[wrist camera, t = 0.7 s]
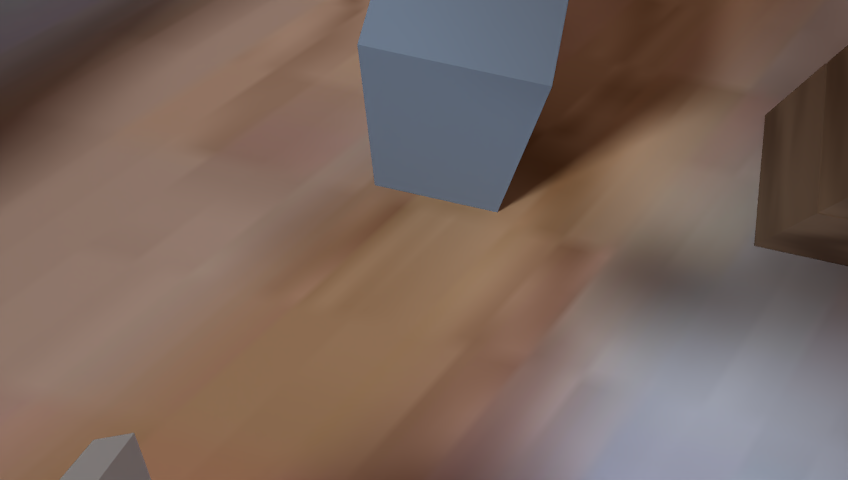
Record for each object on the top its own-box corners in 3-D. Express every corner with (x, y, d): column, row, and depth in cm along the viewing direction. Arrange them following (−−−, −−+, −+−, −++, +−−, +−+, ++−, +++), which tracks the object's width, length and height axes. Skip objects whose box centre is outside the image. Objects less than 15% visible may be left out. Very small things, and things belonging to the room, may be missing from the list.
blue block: (375, 185, 31) (357, 44, 20) (403, 76, 33) (402, -112, 21) (497, 212, 31) (552, 86, 20) (520, 101, 33) (582, -75, 21)
